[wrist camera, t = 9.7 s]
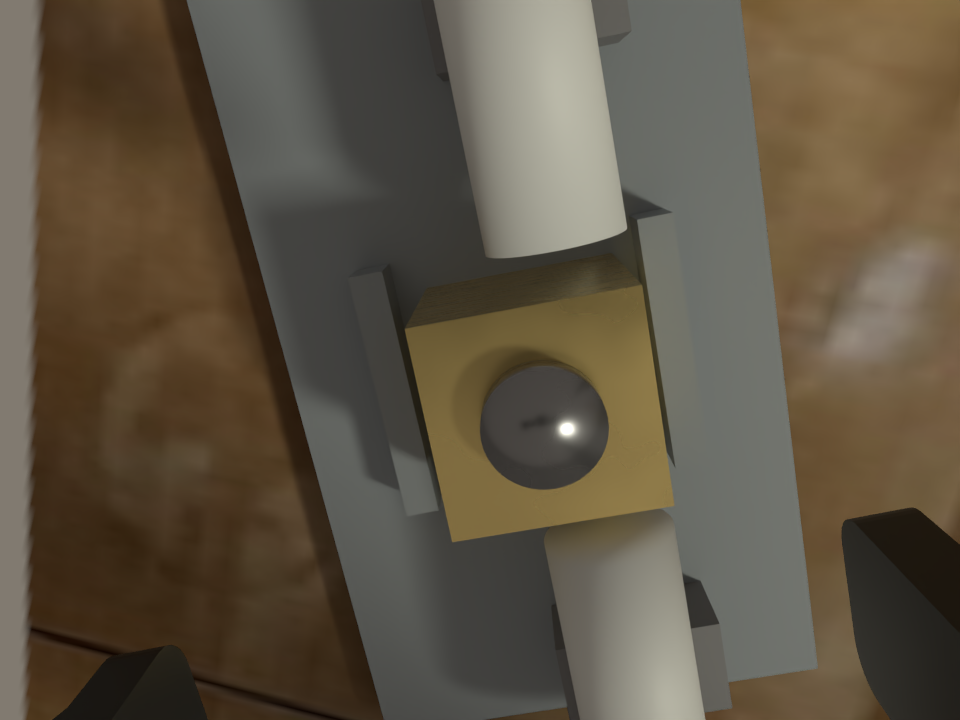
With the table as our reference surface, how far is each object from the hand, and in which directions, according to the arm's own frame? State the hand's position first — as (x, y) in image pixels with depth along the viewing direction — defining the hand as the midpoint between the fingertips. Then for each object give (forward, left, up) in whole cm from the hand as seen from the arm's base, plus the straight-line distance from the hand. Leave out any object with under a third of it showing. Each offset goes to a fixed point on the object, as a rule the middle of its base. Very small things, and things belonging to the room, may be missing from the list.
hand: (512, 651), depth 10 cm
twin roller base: (+1, -1, -12) cm, 12 cm away
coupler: (+1, -1, -11) cm, 11 cm away
